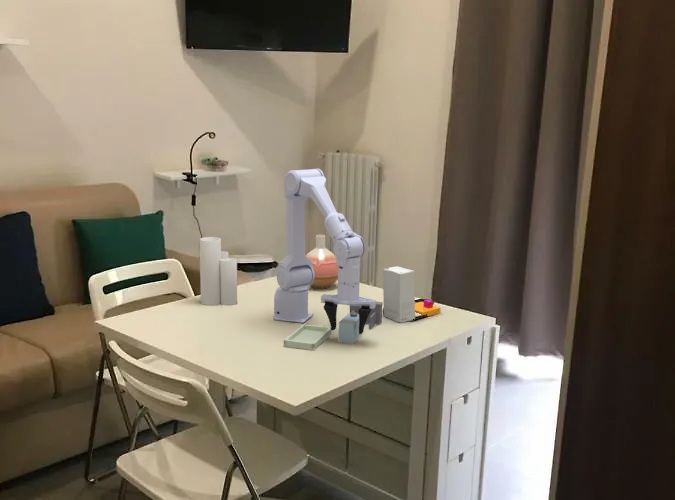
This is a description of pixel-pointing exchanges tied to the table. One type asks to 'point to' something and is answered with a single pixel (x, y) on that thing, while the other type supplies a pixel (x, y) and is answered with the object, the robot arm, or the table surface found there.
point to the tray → (307, 337)
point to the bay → (371, 314)
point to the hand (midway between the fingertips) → (347, 331)
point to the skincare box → (399, 293)
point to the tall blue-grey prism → (349, 328)
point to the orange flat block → (426, 308)
